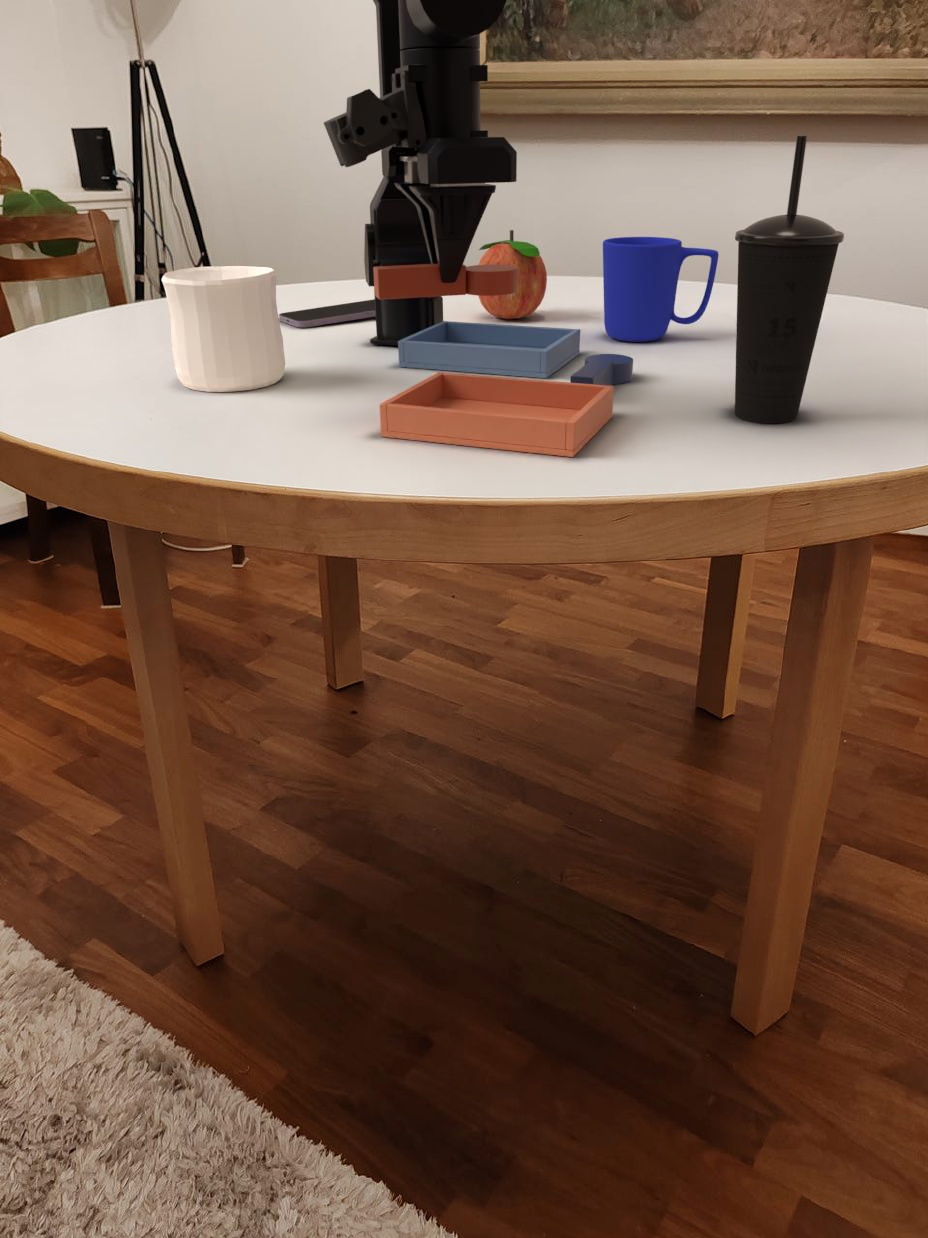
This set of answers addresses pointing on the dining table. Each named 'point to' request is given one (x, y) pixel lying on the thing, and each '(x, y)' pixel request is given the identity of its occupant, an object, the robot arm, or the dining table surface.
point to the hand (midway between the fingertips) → (445, 280)
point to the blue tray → (490, 349)
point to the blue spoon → (604, 370)
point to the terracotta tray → (499, 413)
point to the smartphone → (329, 314)
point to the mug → (646, 286)
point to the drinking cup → (780, 305)
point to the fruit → (528, 278)
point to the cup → (225, 327)
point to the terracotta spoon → (428, 282)
